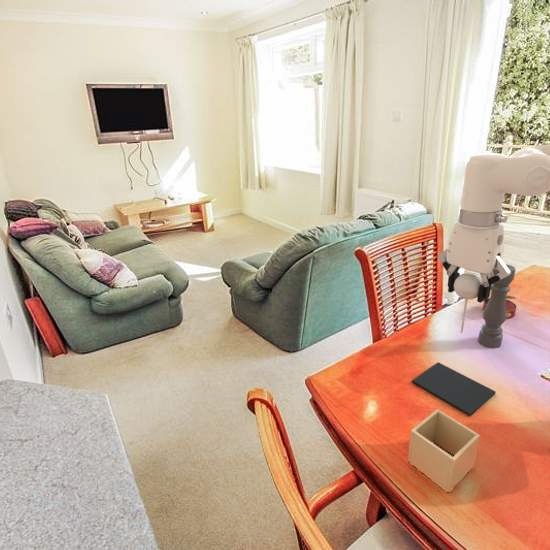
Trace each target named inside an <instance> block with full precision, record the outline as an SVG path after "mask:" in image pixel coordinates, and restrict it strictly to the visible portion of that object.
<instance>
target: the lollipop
mask: <svg viewBox="0 0 550 550" xmlns="http://www.w3.org/2000/svg"><path fill="white" fill-rule="evenodd" d="M480 285H482V280H481V276H479V275H477V274H475V273H471V272H465V273H461V274H460V276H459V277H457V279H456V280H455V282H454V290H455V291H454V292H455V294H456V295H457V296H458V297H459V298H462V299H463V300H464V307H463V312H462V319H461V326H460V334H463V332H464V326H465V321H466V320H465V319H466V313H467V306H468V301H469V300H474V299H476V298H478V292H479V286H480Z"/></svg>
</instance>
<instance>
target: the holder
mask: <svg viewBox="0 0 550 550" xmlns="http://www.w3.org/2000/svg"><path fill="white" fill-rule="evenodd" d="M480 438H481V435H480V434H479V433H477V432H476V431H474V430H472V429H471V428H469V427H468V426H466V425H464V424H463V423H461V422H460V421H458V420H456V419H455V418H453V417H452V416H450V415H448V414H446V413H445V412H443V411H441V410H440V409H439V408H437V409H435V410H434V411H433V412H432V413H431V414H429V415H428V416H427V417H425V419H423V420H422V421H420V422H419V423H418V424H417V425H416V426H414V427H413V428H412V429H411V430H410V436H409V446H408V454H407V455H408V456H407V462H408V461H409V462H410V463H411V464H413V465H414V466H415V467H416V468H417V469H419V470H420V471H422V472H423V473H424V474H425V475H427V476H428V477H429V478H431V479H432V480H433V481H434V482H436V483H437V484H438V485H440V486H441V487H442V488H444V489H445V490H446V491H447V492H449V491H450V490H451V489H452V488H453V487H454V486H455V485H456V484H457V483H458V482H459V481H460V480H461V479H462V478H463V477H464V476H465V475H466V474H467V472H469V471H470V470H471V469H472V470H473V469H474V467H475V463H476V462H475V461H476V457H477V453H478V448H479V443H480ZM435 443H436V444H435ZM437 444H438V445H439V446H438V445H437ZM440 446H441V447H442V448H441V447H440ZM443 448H444V449H445V450H444V449H443ZM446 450H447V451H448V452H450V453H451V454H453V455H454V456H453V455H451V454H450V453H448V452H447V451H446ZM410 463H409V464H410ZM411 464H410V465H411ZM415 467H414V468H415ZM416 468H415V469H416ZM417 469H416V470H417ZM419 470H418V471H419ZM472 470H471V471H472ZM420 471H419V472H420ZM471 471H470V472H471ZM470 472H469V473H470ZM424 474H423V475H424ZM425 475H424V476H425ZM467 475H468V474H467ZM467 475H466V476H467ZM466 476H465V477H466ZM465 477H464V478H465ZM429 478H428V479H429ZM464 478H463V479H464ZM463 479H462V480H463ZM462 480H461V481H462ZM433 481H432V482H433ZM461 481H460V482H461ZM434 482H433V483H434ZM460 482H459V483H460ZM459 483H458V484H459ZM458 484H457V485H458ZM438 485H437V486H438ZM457 485H456V486H457ZM456 486H455V487H456ZM455 487H454V488H455ZM454 488H453V489H454ZM453 489H452V490H453ZM452 490H451V491H452ZM446 491H445V492H446ZM451 491H450V492H451ZM447 492H446V493H447ZM450 492H449V493H450Z"/></svg>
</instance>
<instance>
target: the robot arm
mask: <svg viewBox="0 0 550 550" xmlns="http://www.w3.org/2000/svg"><path fill="white" fill-rule="evenodd" d="M461 186H462V187H461V193H460V202H459V210H458V217H457V220H455V222H454V224H453V227H452V230H451V232H450V236H449V240H448V243H447V248H446V249H445V250H443V251H442V252H440V253H439V254H437V258H438V260H439V261H440V263H441V264H442V267H443V268H444V270H445V271H446V275H447V276H448V277H447V278H448V279H447V288H448V289H447V292H448V293H449V294H450V293H451V294H452V293H453V292H455V290H454V282H455V280H456V279H457V277H459V276H460V275H461V273H460V272H459V270H460V269H464V270H466V271H467V270H468V271H471V272H475V273H478V274H479V275H480V276H479V277H480V278H481V280H482V285H480V286H479V292H478V297H477V299H476V302H478V303H479V304H481V303H484V300H486V299H488V298H490V296H491V285H492V284H493V283H495V282H497V281H499V280H501V279H503V278H505V277H507V276H509V275H510V274H511V271H510V270H509V269H508V267H507V266H506V265H505V264H506V262H504V249H505V229H504V225H503V224H501V223H507V221H508V218H509V216H508V215H505V214H503V203H504V198H505V194H511V195H518V196H525V197H537V196H541V195H544V194H547V193H549V192H550V143H547V144H541V145H534V146H529V147H524V148H521V149H519V150H518V149H517V150H516V151H514V152H513V153H512V154H510V155H509V157H508V156H507V155H506V154H503V153H497V152H496V153H495V152H494V153H489V152H487V153H477V154H472V155H470V156H469V157H468V158H467V159H466V161H465V164H464V171H463V178H462V185H461ZM493 269H498V270H499V274H497V275H495V276H494V275H493Z"/></svg>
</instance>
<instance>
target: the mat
mask: <svg viewBox="0 0 550 550" xmlns="http://www.w3.org/2000/svg"><path fill="white" fill-rule="evenodd" d="M411 383H412V384H414V385H415V386H417V387H419V388H420V389H422V390H423V391H426V392H427V393H429V394H431V395H432V396H434V397H436V398H437V399H439V400H440V401H443V402H444V403H446V404H448V406H451V407H453V408H454V409H455V410H458V411H460V412H461V413H462V414H464V415H466V416H468V417H472V415H474V413H476V412H477V411H478V410H480V409H481V407H482V406H484V405H485V404H486V403H487V402H488V401H490V399H491V398H492V397H494V395H496V392H497V391H495V390H494V389H491V388H490V387H488V386H485V384H482V383H480V382H478V381H476V380H475V379H472V378H470V377H468V376H466V375H465V374H462V373H460V372H458V371H456V370H454V369H452V368H450V367H449V366H446V365H445V364H443V363H441V362H439V361H437V362H436V363H435V364H433V365H431V367H429V368H427V369H426V370H425V371H423V372H422V373H420V374H419V375H418V376H416V377H415V378H413V379H412V380H411Z"/></svg>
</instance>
